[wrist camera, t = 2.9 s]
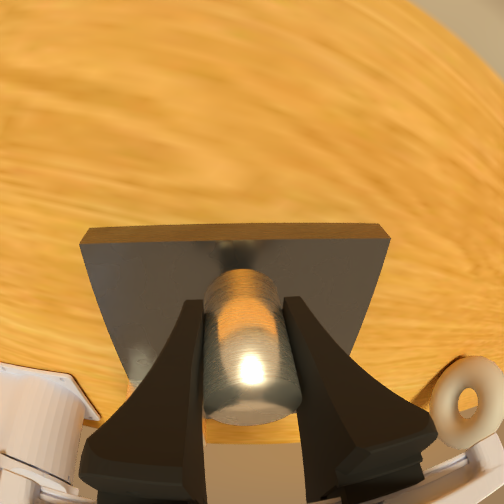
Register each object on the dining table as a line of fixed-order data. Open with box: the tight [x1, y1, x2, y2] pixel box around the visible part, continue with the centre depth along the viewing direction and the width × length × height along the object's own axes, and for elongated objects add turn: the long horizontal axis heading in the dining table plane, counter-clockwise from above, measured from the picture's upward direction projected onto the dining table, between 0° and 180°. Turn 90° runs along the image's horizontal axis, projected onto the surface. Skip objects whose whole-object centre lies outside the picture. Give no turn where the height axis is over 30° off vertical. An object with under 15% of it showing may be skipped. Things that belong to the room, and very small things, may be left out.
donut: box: [430, 356, 504, 449], centre depth 22 cm, size 10×3×10 cm, turn 161°
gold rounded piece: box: [203, 269, 302, 426], centre depth 14 cm, size 12×6×7 cm, turn 178°
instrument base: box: [79, 223, 391, 446], centre depth 17 cm, size 15×17×6 cm
